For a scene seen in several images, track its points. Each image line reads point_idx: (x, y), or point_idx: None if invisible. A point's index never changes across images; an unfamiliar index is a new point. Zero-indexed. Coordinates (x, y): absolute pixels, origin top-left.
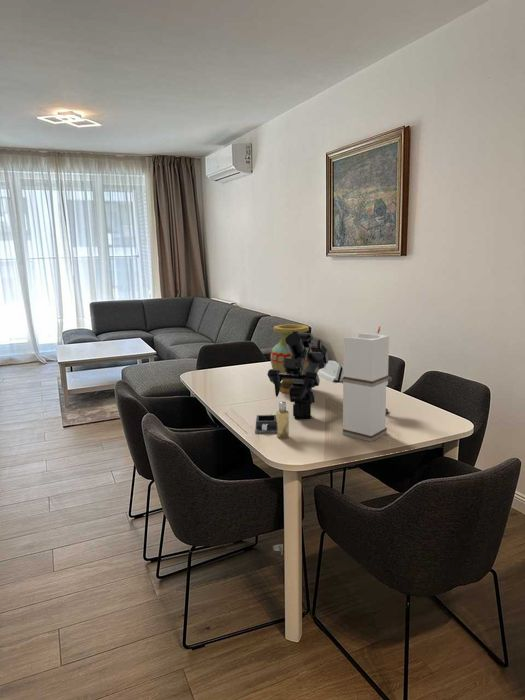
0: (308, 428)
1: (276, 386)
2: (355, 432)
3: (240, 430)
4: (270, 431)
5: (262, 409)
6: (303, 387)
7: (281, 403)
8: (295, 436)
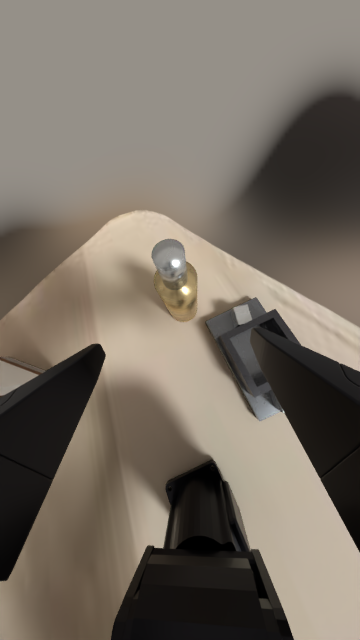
0: (148, 387)
1: (322, 366)
2: (23, 368)
3: (301, 303)
4: (220, 314)
5: None
6: (13, 400)
7: (165, 239)
8: (158, 322)
